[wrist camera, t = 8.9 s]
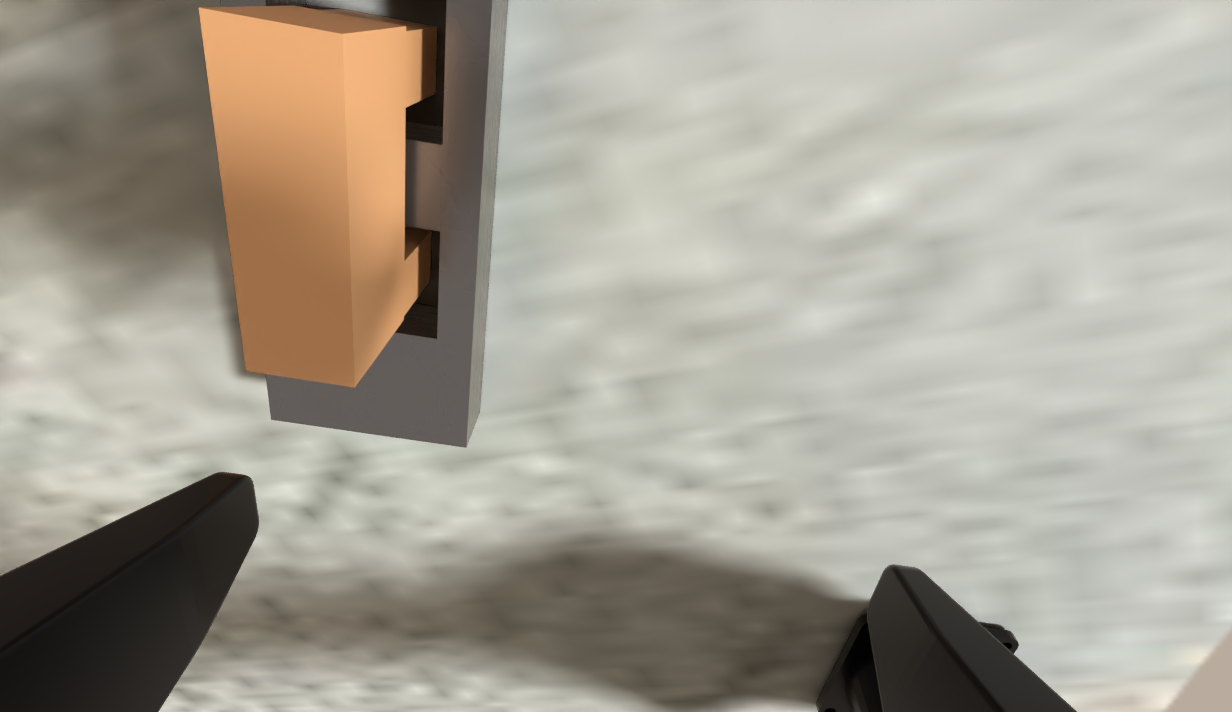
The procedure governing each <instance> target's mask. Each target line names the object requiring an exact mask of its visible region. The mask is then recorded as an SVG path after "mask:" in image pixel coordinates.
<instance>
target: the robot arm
mask: <svg viewBox="0 0 1232 712" xmlns="http://www.w3.org/2000/svg"><path fill="white" fill-rule="evenodd" d="M258 527H259V516H258V510H257V503H256V497H255V490H254V485H253V481H252V480H251V478H250V477H248V476H246V475H242V474H235V473H227V472H218V473H215V474H212V475H210V476H208V477H206V478H204V479H202V480H200V481H198V482H196V483H193V484H191V485H189V486H187V487H185V488H183V489H181V490H179V491H177V492H175V493H173V494H170V495H168V496H166V497H164V498H162V499H160V500H158V501H156V502H154V503H152V504H150V505H147V506H145V507H143V508H141V509H139V510H137V511H135V512H133V513H131V514H129V515H127V516H124V517H122V518H120V519H118V520H116V521H114V522H112V523H110V524H108V525H106V526H104V527H101V528H99V529H97V530H95V531H93V532H91V533H89V534H87V535H85V536H83V537H81V538H78V539H76V540H74V541H72V542H70V543H68V544H66V545H64V546H62V547H60V548H58V549H56V550H53V551H51V552H49V553H47V554H45V555H43V556H41V557H39V558H37V559H35V560H33V561H30V562H28V563H26V564H24V565H22V566H20V567H18V568H16V569H14V570H12V571H10V572H7V573H5V574H3V575H1V576H0V712H158V711H159V710H160V708H161V707H162V705H163V704H164V702H165V700H166V699H167V697H168V696H169V694H170V693H171V691H172V689H173V688H174V686H175V685H176V683H177V682H178V680H179V678H180V677H181V675H182V674H183V672H184V671H185V669H186V667H187V666H188V664H189V663H190V661H191V660H192V658H193V656H194V655H195V653H196V652H197V650H198V648H199V647H200V645H201V643H202V642H203V640H204V638H205V636H206V634H207V633H208V631H209V629H210V627H211V625H212V623H213V621H214V619H215V617H216V615H217V613H218V611H219V609H220V607H221V605H222V603H223V601H224V599H225V597H226V595H227V593H228V591H229V589H230V587H231V585H232V583H233V581H234V579H235V577H236V575H237V573H238V571H239V569H240V567H241V565H242V563H243V561H244V559H245V557H246V555H247V553H248V551H249V549H250V547H251V545H252V543H253V541H254V539H255V537H256V534H257V531H258ZM1018 646H1019V644H1018V641H1017V640H1016V638H1015V636H1014V635H1013V633H1012V632H1011V631H1008V630H1002V629H995V628H987V627H983V626H982V625H981V624H980V623H979V622H978V621H977V620H975V619H974V618H973V617H972V616H971V615H970V614H969V613H968V612H967V611H965V610H964V609H963V608H962V607H961V606H960V605H959V604H958V603H957V602H956V601H954V600H953V599H952V598H951V597H950V596H949V595H948V594H947V593H946V592H945V591H943V590H942V589H941V588H940V587H939V586H938V585H937V584H936V583H935V582H934V581H932V580H931V579H930V578H929V577H928V576H927V575H926V574H925V573H924V572H922V571H921V570H920V569H918V568H915V567H909V566H902V565H889V566H887V567H886V568H885V570H884V571H883V573H882V576H881V578H880V580H879V582H878V584H877V586H876V588H875V591H874V593H873V595H872V597H871V599H870V601H869V604H868V609H867V613H866V614H864V615H862V616H861V617H860V618H859V619H858V621H857V623H856V625H855V627H854V629H853V631H852V633H851V635H850V637H849V639H848V641H847V643H846V645H845V647H844V649H843V651H842V653H841V655H840V657H839V659H838V661H837V662H836V664H835V666H834V668H833V670H832V672H831V674H830V676H829V678H828V680H827V682H826V684H825V686H824V688H823V690H822V692H821V694H820V696H819V698H818V700H817V702H816V706H817V709H818V712H1077V711H1076V710H1075V709H1073V708H1072V707H1071V706H1070V705H1069V704H1068V703H1067V702H1066V701H1065V700H1063V699H1062V698H1061V697H1060V696H1059V695H1058V694H1057V693H1056V692H1055V691H1054V690H1052V689H1051V688H1050V687H1049V686H1048V685H1047V684H1046V683H1045V682H1044V681H1043V680H1041V679H1040V678H1039V677H1038V676H1037V675H1036V674H1035V673H1034V672H1033V671H1032V670H1030V669H1029V668H1028V667H1027V666H1026V665H1025V664H1024V663H1023V662H1022V661H1021V660H1019V659H1018V658H1017V657H1016V656H1015V655H1014V652H1015V651H1016V650H1017V648H1018Z"/></svg>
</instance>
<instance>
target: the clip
mask: <svg viewBox="0 0 1232 712" xmlns="http://www.w3.org/2000/svg"><path fill="white" fill-rule="evenodd" d="M199 15H200V23H201V30H202V38H203V46H204V53H205V61H206V69H207V77H208V84H209V92H210V100H211V107H212V115H213V123H214V130H215V138H216V146H217V153H218V161H219V169H220V176H221V184H222V192H223V199H224V207H225V215H226V223H227V230H228V238H229V246H230V253H231V261H232V269H233V276H234V284H235V292H236V299H237V307H238V315H239V322H240V330H241V338H242V346H243V353H244V361H245V369H246V371H250V372H256V373H263V374H269V375H276V376H282V377H289V378H295V379H302V380H308V381H315V382H321V383H328V384H334V385H341V386H347V387H354V388H355V387H356V385H357V384H358V383H359V381H360V380H361V378H362V377H363V376H364V374H365V373H366V372H367V370H368V369H369V367H370V366H371V365H372V363H373V362H374V360H375V359H376V358H377V356H378V355H379V354H380V352H381V351H382V349H383V348H384V347H385V345H386V344H387V342H388V341H389V340H390V338H391V337H392V336H393V334H394V333H395V331H396V330H397V329H398V327H399V326H400V325H401V323H402V322H403V320H404V316H405V314H406V313H407V312H408V310H409V309H410V308H411V306H412V305H413V303H414V302H415V301H416V299H417V298H418V297H419V295H420V294H421V292H422V291H423V290H424V288H425V287H426V286H427V284H428V283H429V282H430V257H431V231H428V230H423V229H417V228H411V227H405V126H406V107H408V106H410V105H413V104H415V103H417V102H419V101H421V100H423V99H425V98H427V97H429V96H432V95H434V94H435V82H436V47H437V27H435V26H430V25H425V24H419V23H414V22H408V21H403V20H398V19H392V18H387V17H382V16H376V15H371V14H365V13H360V12H355V11H349V10H344V9H327V10H316V9H311V8H305V7H300V6H295V5H294V6H248V7H201V8H199Z"/></svg>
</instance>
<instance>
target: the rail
mask: <svg viewBox="0 0 1232 712" xmlns="http://www.w3.org/2000/svg"><path fill="white" fill-rule="evenodd" d="M220 3H221V7H248V6H294V5H295V6H300V7H305V8H306V0H220ZM507 8H508V0H447V2H446V38H445V74H444V110H443V127H438V126H432V125H426V124H420V123H414V122H409V121H406V126H405V226H410V227H416V228H422V229H428V230H434V231H440V254H439V290H438V307H436V306H429V305H423V304H416V303H413V305H412V306H411V308H410V309H409V310H408V312H407V313H406V314H405V316H404V320H403V322H402V323H401V325H400V326H399V327H398V329H397V330H396V331H395V333H394V334H393V336H392V337H391V338H390V340H389V341H388V342H387V344H386V345H385V347H384V348H383V349H382V351H381V352H380V354H379V355H378V356H377V358H376V359H375V360H374V362H373V363H372V365H371V366H370V367H369V369H368V370H367V372H366V373H365V374H364V376H363V377H362V378H361V380H360V381H359V383H358V384H357V385H356V387H355V388H354V387H347V386H341V385H334V384H328V383H321V382H315V381H308V380H302V379H295V378H289V377H282V376H276V375H269V374H266V380H267V389H268V397H269V405H270V413H271V420H278V421H285V422H292V423H299V424H306V425H313V426H319V427H326V428H333V429H340V430H347V431H354V432H361V433H368V434H375V435H382V436H389V437H396V438H403V439H410V440H417V441H424V442H431V443H438V444H445V445H452V446H459V447H467V445H468V442H469V439H470V437H471V434H472V431H473V429H474V426H475V423H476V421H477V418H478V415H479V413H480V403H481V388H482V373H483V359H484V344H485V330H486V315H487V300H488V286H489V271H490V256H491V242H492V227H493V213H494V198H495V183H496V169H497V154H498V139H499V125H500V110H501V96H502V81H503V66H504V52H505V37H506V22H507Z"/></svg>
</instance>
